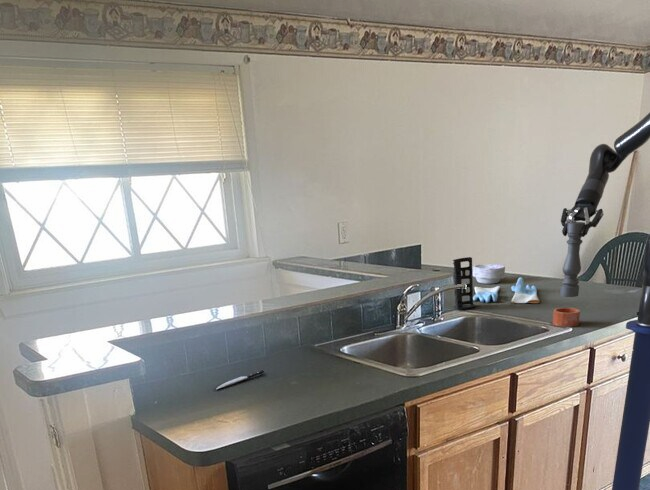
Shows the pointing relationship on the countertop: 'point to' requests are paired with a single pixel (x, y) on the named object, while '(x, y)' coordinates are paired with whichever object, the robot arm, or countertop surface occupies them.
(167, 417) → the countertop surface
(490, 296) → the rubber gloves
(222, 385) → the chef's knife
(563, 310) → the holder cup
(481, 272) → the paper bowls
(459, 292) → the holder
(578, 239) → the candle holder
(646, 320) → the robot arm
